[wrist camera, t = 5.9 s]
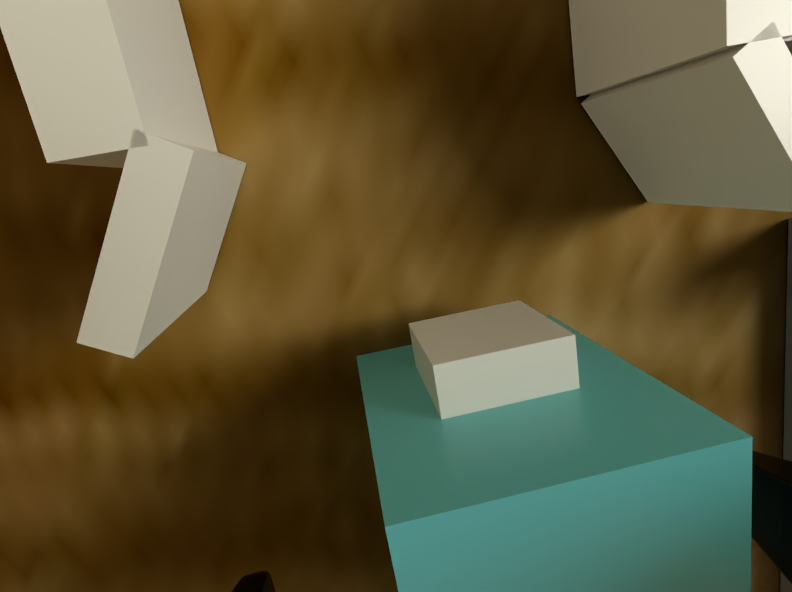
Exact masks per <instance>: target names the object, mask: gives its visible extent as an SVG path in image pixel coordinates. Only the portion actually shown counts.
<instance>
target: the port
mask: <svg viewBox="0 0 792 592" xmlns="http://www.w3.org/2000/svg"><path fill="white" fill-rule="evenodd" d="M569 12H570V24H571V36H572V49H573V61H574V74H575V86H576V97H580V96H586V95H590V96H589V97H588V98H587V99H585V100H584V101H583V102H582V103H581V105H582V106H583V108H584V109H585V111H586V112H587V114H588V115H589V116H590V118H591V119H592V121H593V122H594V124H595V125H596V127H597V128H598V130H599V131H600V133H601V134H602V135H603V137H604V138H605V140H606V141H607V143H608V144H609V146H610V147H611V149H612V150H613V152H614V153H615V155H616V156H617V157H618V159H619V160H620V162H621V163H622V165H623V166H624V168H625V169H626V171H627V172H628V174H629V175H630V177H631V178H632V179H633V181H634V182H635V184H636V185H637V187H638V188H639V190H640V191H641V193H642V194H643V196H644V197H645V199H646V200H647V201H648V203H661V204H676V205H692V206H707V207H723V208H738V209H754V210H770V211H785V212H792V0H569ZM0 28H1V31H2V34H3V37H4V40H5V42H6V45H7V48H8V51H9V54H10V57H11V60H12V63H13V66H14V69H15V71H16V74H17V77H18V80H19V83H20V86H21V89H22V92H23V95H24V98H25V100H26V103H27V106H28V109H29V112H30V115H31V118H32V121H33V124H34V127H35V129H36V132H37V135H38V138H39V141H40V144H41V147H42V150H43V153H44V156H45V158H46V161H47V163H56V164H70V165H85V166H100V167H114V168H123V171H122V175H121V179H120V183H119V186H118V190H117V194H116V197H115V201H114V205H113V208H112V212H111V216H110V220H109V223H108V227H107V231H106V234H105V238H104V242H103V246H102V249H101V253H100V257H99V260H98V264H97V268H96V272H95V275H94V279H93V283H92V286H91V290H90V294H89V298H88V301H87V305H86V309H85V312H84V316H83V320H82V323H81V327H80V331H79V335H78V338H77V342H76V343H79V344H83V345H86V346H90V347H93V348H97V349H100V350H104V351H108V352H111V353H115V354H118V355H122V356H125V357H129V358H134V357H135V356H137V355H138V354H139V353H140V352H141V351H142V350H143V349H144V348H145V347H146V346H147V345H149V344H150V343H151V342H152V341H153V340H154V339H155V338H156V337H157V336H158V335H159V334H161V333H162V332H163V331H164V330H165V329H166V328H167V327H168V326H169V325H170V324H171V323H173V322H174V321H175V320H176V319H177V318H178V317H179V316H180V315H181V314H182V313H183V312H185V311H186V310H187V309H188V308H189V307H190V306H191V305H192V304H193V303H194V302H195V301H197V300H198V299H199V298H200V297H201V296H202V295H203V294H204V293H205V292H206V291H207V288H208V285H209V282H210V279H211V275H212V272H213V269H214V266H215V263H216V259H217V256H218V253H219V250H220V247H221V243H222V240H223V237H224V234H225V230H226V227H227V224H228V221H229V218H230V214H231V211H232V208H233V205H234V202H235V198H236V195H237V192H238V189H239V186H240V182H241V179H242V176H243V173H244V170H245V166H246V163H245V162H242V161H239V160H237V159H234V158H231V157H229V156H226V155H223V154H221V153H218V151H217V148H216V144H215V140H214V136H213V132H212V128H211V124H210V121H209V117H208V113H207V109H206V105H205V101H204V97H203V94H202V90H201V86H200V82H199V78H198V74H197V70H196V66H195V63H194V59H193V55H192V51H191V47H190V43H189V39H188V36H187V32H186V28H185V24H184V20H183V16H182V12H181V9H180V5H179V1H178V0H0Z"/></svg>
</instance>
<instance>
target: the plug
mask: <svg viewBox="0 0 792 592" xmlns="http://www.w3.org/2000/svg"><path fill="white" fill-rule="evenodd" d="M408 324H409V330H410V336H411V341H412V344H411V345H406V346H402V347H397V348H392V349H387V350H383V351H378V352H373V353H369V354H364V355H359V356H356V359H357V365H358V370H359V376H360V382H361V388H362V394H363V400H364V406H365V412H366V418H367V424H368V430H369V436H370V442H371V448H372V454H373V460H374V466H375V471H376V477H377V483H378V489H379V495H380V501H381V507H382V513H383V519H384V525H385V530H386V535H387V540H388V545H389V549H390V554H391V559H392V564H393V568H394V573H395V578H396V583H397V588H398V592H751V526H752V440H753V437H752V436H750V435H749V434H747V433H745V432H744V431H742V430H740V429H739V428H737V427H735V426H734V425H732V424H730V423H729V422H727V421H725V420H724V419H722V418H720V417H719V416H717V415H715V414H714V413H712V412H710V411H709V410H707V409H705V408H704V407H702V406H700V405H699V404H697V403H695V402H694V401H692V400H690V399H689V398H687V397H685V396H684V395H682V394H680V393H679V392H677V391H675V390H674V389H672V388H670V387H669V386H667V385H665V384H664V383H662V382H660V381H659V380H657V379H655V378H654V377H652V376H650V375H649V374H647V373H645V372H644V371H642V370H640V369H639V368H637V367H635V366H634V365H632V364H630V363H629V362H627V361H625V360H624V359H622V358H620V357H619V356H617V355H615V354H614V353H612V352H610V351H609V350H607V349H605V348H604V347H602V346H600V345H599V344H597V343H595V342H594V341H592V340H590V339H589V338H587V337H585V336H584V335H582V334H580V333H579V332H577V331H575V330H574V329H572V328H570V327H569V326H567V325H565V324H564V323H562V322H560V321H559V320H557V319H555V318H554V317H552V316H550V315H548V316H544V315H543V314H541V313H539V312H538V311H536V310H534V309H533V308H531V307H530V306H528V305H526V304H525V303H523V302H521V301H520V300H518V301H514V302H509V303H504V304H499V305H494V306H489V307H485V308H480V309H475V310H470V311H465V312H461V313H456V314H451V315H446V316H441V317H436V318H432V319H427V320H422V321H417V322H412V323H408Z"/></svg>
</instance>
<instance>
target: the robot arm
mask: <svg viewBox="0 0 792 592" xmlns="http://www.w3.org/2000/svg"><path fill="white" fill-rule="evenodd" d="M751 537H752V538H753V539H754V540H755V541H756V543H757V544H758V545H759V546H760V547H761V549H762V550H763V551H764V552H765V553H766V555H767V556H768V557H769V558H770V559H771V561H772V562H773V563H774V564H775V565H776V567H777V568H778V569H779V570H780V571H781V573H782V574H783V575H784V576H785V577H786V578H787V579H788V581H789V582H790V583H791V584H792V461H788V460H785V459H781V458H777V457H773V456H770V455H766V454H762V453H759V452H755V451H752V526H751ZM232 592H275V588H274V585H273V582H272V578H271V575H270V574H269V572H267V571H260V572H256V573H252V574H248V575H246V576H244V577H242V578H241V579H240V581H239V582H238V583H237V585H236V586H235V588H234V589H233V590H232Z"/></svg>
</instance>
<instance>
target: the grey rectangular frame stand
mask: <svg viewBox="0 0 792 592" xmlns="http://www.w3.org/2000/svg"><path fill="white" fill-rule="evenodd" d="M783 459H785V460H788V461H792V219H788V264H787V309H786V354H785V399H784V444H783ZM780 592H792V584H791V583H790V582H789V581H788V579H787V578H786V577H785V576H784V575H783V574H782V573H781V579H780Z"/></svg>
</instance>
